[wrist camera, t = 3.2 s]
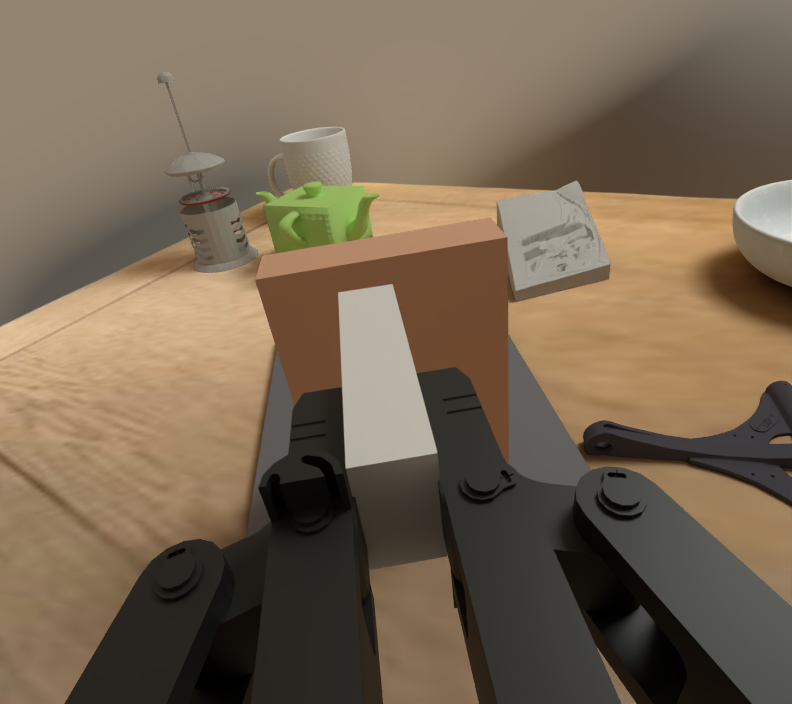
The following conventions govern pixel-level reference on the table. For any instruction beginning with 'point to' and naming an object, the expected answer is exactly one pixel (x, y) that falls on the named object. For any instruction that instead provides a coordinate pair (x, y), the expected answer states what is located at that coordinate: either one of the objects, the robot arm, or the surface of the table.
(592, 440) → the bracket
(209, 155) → the french press
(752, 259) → the serving bowl
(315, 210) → the teapot
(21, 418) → the table surface
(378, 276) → the tile
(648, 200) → the table surface
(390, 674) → the table surface
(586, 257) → the ramp
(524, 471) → the mat
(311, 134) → the mug
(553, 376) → the table surface
